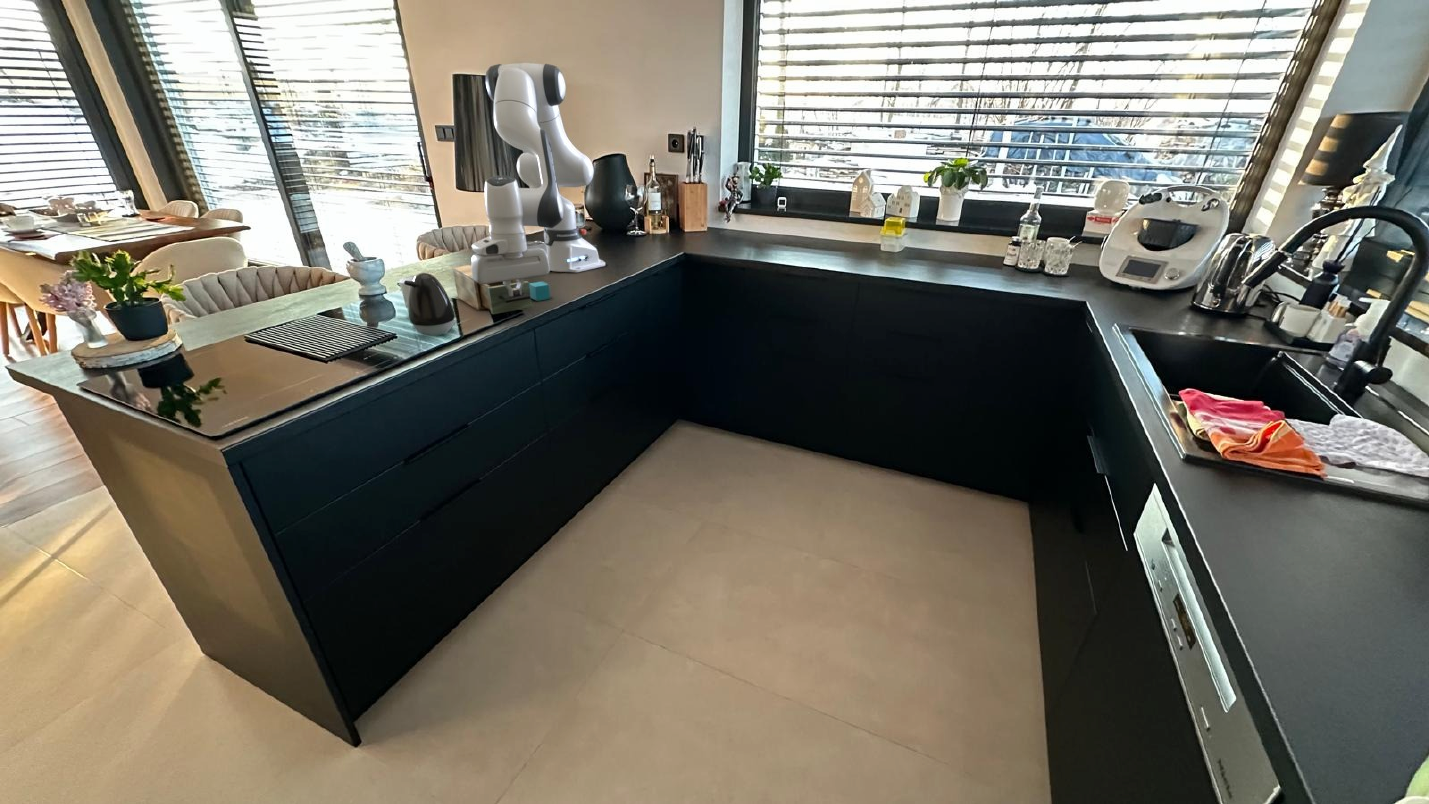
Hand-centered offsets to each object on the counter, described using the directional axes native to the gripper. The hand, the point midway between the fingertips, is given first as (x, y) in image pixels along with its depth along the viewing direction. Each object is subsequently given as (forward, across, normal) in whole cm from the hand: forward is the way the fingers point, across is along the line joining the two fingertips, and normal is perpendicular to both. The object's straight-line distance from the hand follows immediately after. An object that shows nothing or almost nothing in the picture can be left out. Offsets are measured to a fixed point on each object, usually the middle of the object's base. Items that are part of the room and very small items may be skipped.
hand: (515, 295), depth 151 cm
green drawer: (+5, 0, -8) cm, 10 cm away
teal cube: (+6, -13, -13) cm, 19 cm away
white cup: (+6, +20, -16) cm, 26 cm away
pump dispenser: (+6, +22, -1) cm, 23 cm away
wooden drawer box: (+6, 0, -20) cm, 21 cm away
